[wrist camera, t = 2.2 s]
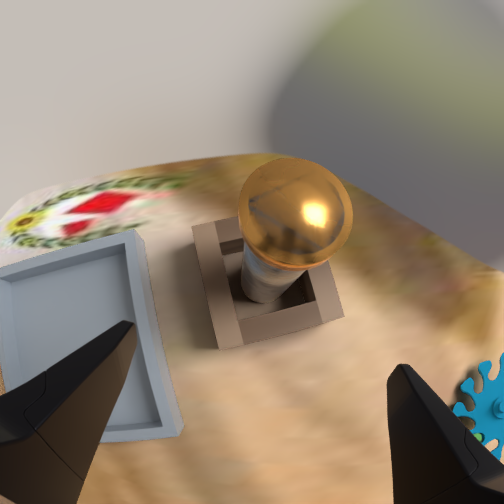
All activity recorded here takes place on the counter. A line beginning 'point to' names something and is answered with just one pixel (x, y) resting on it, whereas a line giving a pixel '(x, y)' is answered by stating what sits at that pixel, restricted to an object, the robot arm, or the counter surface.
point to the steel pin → (289, 224)
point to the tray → (90, 326)
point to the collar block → (268, 325)
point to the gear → (486, 407)
